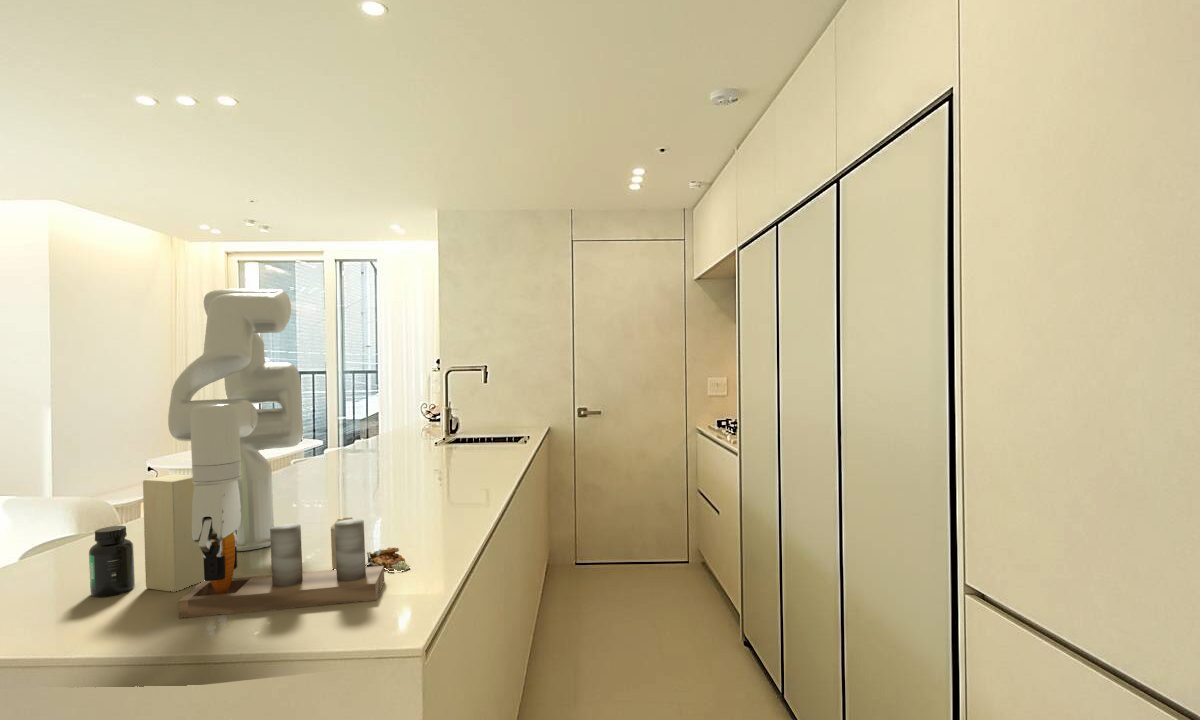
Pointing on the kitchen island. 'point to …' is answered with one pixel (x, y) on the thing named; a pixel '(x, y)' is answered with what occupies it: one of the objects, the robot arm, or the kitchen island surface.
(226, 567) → the carrot
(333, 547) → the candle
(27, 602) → the kitchen island surface
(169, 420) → the robot arm
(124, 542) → the supplement bottle
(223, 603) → the rail
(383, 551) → the brown irregular lump
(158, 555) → the beige tall rectangular block
